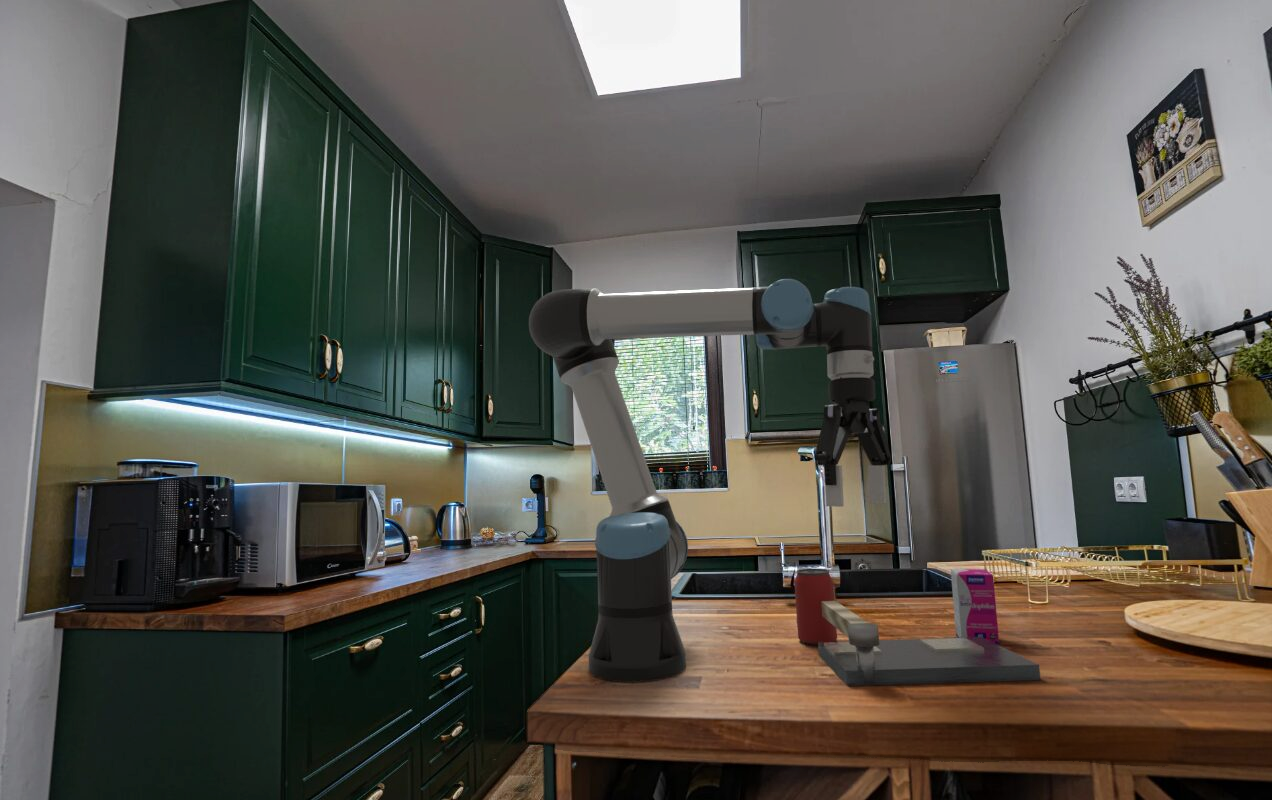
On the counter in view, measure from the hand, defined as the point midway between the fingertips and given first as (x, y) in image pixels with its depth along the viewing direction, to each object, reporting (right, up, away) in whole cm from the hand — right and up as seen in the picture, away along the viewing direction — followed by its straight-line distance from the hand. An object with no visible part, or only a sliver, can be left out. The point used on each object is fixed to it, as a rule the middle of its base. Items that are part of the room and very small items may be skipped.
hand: (857, 505), depth 111 cm
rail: (-5, -17, -11) cm, 21 cm away
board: (+5, -22, -13) cm, 26 cm away
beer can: (-5, -25, +4) cm, 26 cm away
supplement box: (+21, -23, +1) cm, 31 cm away
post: (-5, -22, -19) cm, 29 cm away
